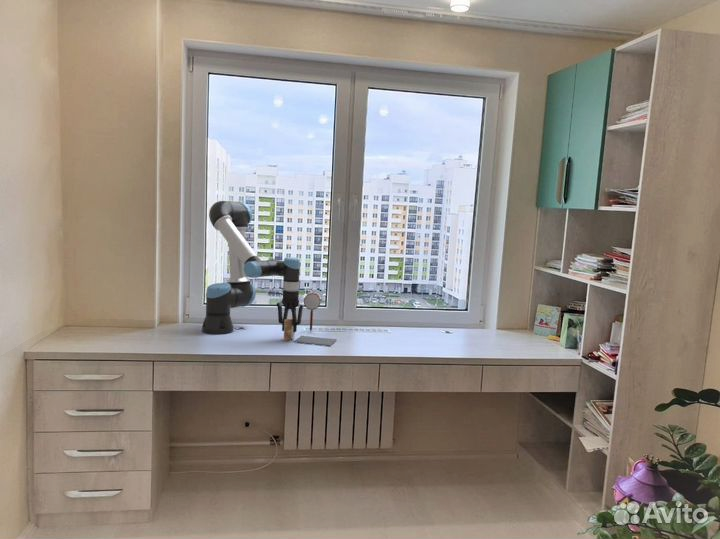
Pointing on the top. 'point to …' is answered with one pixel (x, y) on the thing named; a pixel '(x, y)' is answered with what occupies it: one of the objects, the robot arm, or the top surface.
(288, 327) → the wooden block
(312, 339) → the mat
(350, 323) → the top surface
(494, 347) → the top surface
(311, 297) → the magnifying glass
